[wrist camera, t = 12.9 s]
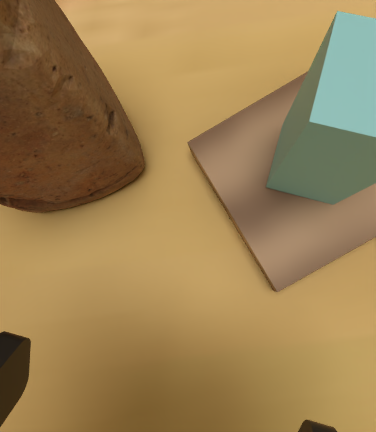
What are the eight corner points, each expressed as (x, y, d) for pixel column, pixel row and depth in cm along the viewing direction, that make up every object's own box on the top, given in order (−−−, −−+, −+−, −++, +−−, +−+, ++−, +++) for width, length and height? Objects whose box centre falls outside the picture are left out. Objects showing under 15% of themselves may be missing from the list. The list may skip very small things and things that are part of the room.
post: (265, 187, 24) (309, 121, 13) (282, 125, 24) (337, 10, 13) (333, 204, 23) (437, 151, 12) (348, 140, 24) (461, 36, 13)
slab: (193, 156, 28) (187, 142, 25) (324, 78, 28) (335, 55, 25) (273, 290, 26) (277, 292, 23) (420, 207, 25) (443, 198, 22)
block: (127, 99, 29) (-95, -255, 10) (160, 178, 28) (-27, -54, 8) (11, 152, 30) (-412, -79, 10) (37, 233, 28) (-405, 138, 9)
